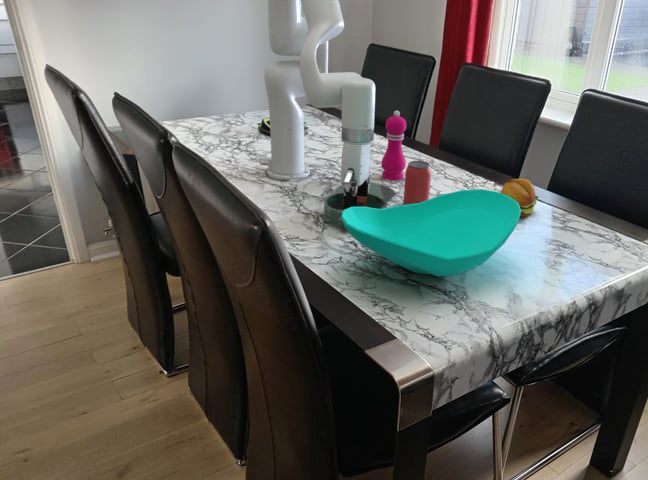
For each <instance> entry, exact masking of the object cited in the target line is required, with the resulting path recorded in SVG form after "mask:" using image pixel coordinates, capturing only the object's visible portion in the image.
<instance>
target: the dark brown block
mask: <svg viewBox="0 0 648 480" xmlns="http://www.w3.org/2000/svg"><path fill="white" fill-rule="evenodd" d="M357 207H367V197H363V196H358V201H357ZM343 210H344V200H343V207H342V211H343Z"/></svg>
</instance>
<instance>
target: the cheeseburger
mask: <svg viewBox="0 0 648 480" xmlns="http://www.w3.org/2000/svg"><path fill="white" fill-rule="evenodd" d="M500 193H501V194H504V195H507V196H509V197H511V198H512V199H513V200H515V201H516V202H518V204H519V207H520V209H521V214H520V217H527V216H530V215H532V213H534V209H535V206H536V204H537V203H538V202H537V200H538V199H539V196H538V195H536V190H535V188H534V185H533V183H532V182H531V181H530V180H528V179H525V178H514V179H509V180H507V181H506V182H505V183H504V184H503V186H502V188H501V190H500Z"/></svg>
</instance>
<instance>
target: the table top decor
mask: <svg viewBox="0 0 648 480" xmlns="http://www.w3.org/2000/svg"><path fill="white" fill-rule="evenodd" d="M341 212H342V216H341V218H342V221H343V224H344V226H345V228H346V229H345V230H346V231H347V233H348V234H349V235H350V236H351V237H353V238H354V239H355V241H357V243H360V244H361V245H363V246H364V247H366V248H367V249H369V250H371V251H373V252H374V253H376V254H378V255H379V256H381V257H383V258H384V259H386V260H388V261H391V262H392V263H394V264H397V265H398V266H401V267H402V268H405V269H407V270H408V271H411V272H413V273H414V274H415V273H416V274H420V275H432V276H434V277H447V276H457V275H459V274H462V273H465V272H467V271H470V270H473V269H475V268H477V267H479V266H481V265H483V264H484V263H485V262H487V261H488V260H489V259H490V258H491V257H492V256H493V255H494V254H495V253H497V251H498V250H499V249H500V248H502V247H503V246H504V245H505V244H506V243H507V241H508V239H509V238H510V236H511V235H512V233H513V232H514V231H515V229H516V227H517V225H518V224H519V222H520V217H521V216H520V214H521V209H520V207H519V204H518V202H516V201H515V200H513V199H512V198H511V197H509V196H507V195H504V194H501V192H499V191H495V190H488V189H483V188H476V189H475V188H474V189H463V190H462V189H461V190H456V191H453V192H448V193H444V194H440V195H437V196H435V197H432V198H429V200H426V201H424V202H421V203H416V204H408V205H403V204H401V205H394V206H389V207H387V208H384V209H376V208H370V207H350V208H347V209H345V210H343V209H342V211H341Z"/></svg>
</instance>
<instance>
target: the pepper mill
mask: <svg viewBox="0 0 648 480" xmlns="http://www.w3.org/2000/svg"><path fill="white" fill-rule="evenodd" d="M400 115H401V112H400V111H399V110H394V112H393V115H392V116H390V117H388V118H387V120H386V121H385V129H386V131H387V132H386V139H387V148H386V151H385V153H384V155H383V156H382V158H381V164H380V165H381V168H382V170H383V171H382V175H381V177H382V178H383V179H384V180H388V181H402V180H403V179H404V170H406V168H407V167H406V164H407V163H406V158H405V155H404V153H403V149H402V147H403V145H402V144H403V140H404V139H405V137H404V136H405V133H404V132H405V131H406V130H407V121H406V119H405V118H403V117H402V116H400Z"/></svg>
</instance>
